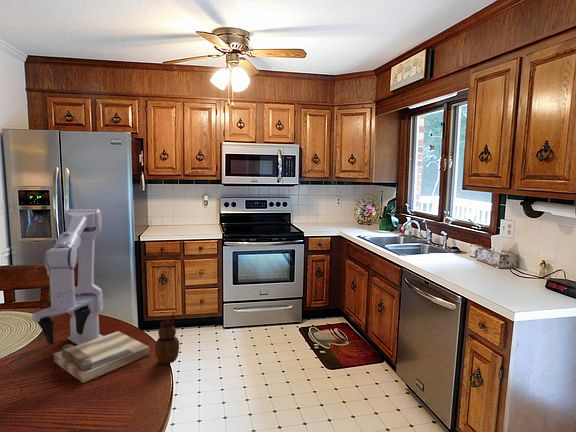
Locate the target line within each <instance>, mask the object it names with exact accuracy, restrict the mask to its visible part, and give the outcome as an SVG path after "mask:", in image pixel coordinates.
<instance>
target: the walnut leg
mask: <svg viewBox="0 0 576 432" xmlns="http://www.w3.org/2000/svg"><path fill="white" fill-rule="evenodd" d="M74 346H75V345H73V344H71V343H70V344H65V345H63V346H62V347H61V351H62V356H63V357H65V358H66V359H68V360H69V361H71V362H72V363H74V364H75V365H76V366H78V367H79V368H81V369H82V370H87V369H90V368H91V367H92V359H91V357H90V356H88V355H87V354H85V353H84V352H82V351H81V350H79V349H77V348H76V347H74Z"/></svg>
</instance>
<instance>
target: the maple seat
mask: <svg viewBox="0 0 576 432" xmlns="http://www.w3.org/2000/svg"><path fill="white" fill-rule="evenodd" d="M102 336H103V337H100V338H97V339H94V340H91V341H89V342H86V343H83V344H80V345H77V344H76V345H73V346H74V347H76V348H77V349H79V350H81V351H82V352H84V353H85V354H87V355H88V356H90V357H91V359H92V367H91V368H90V369H87V370H82V369H81V368H79V367H78V366H76V365H75V364H74V363H72V362H71V361H69V360H68V359H66V358H65V357H63V356H62V350H60V351H58V352H54V353H53V362H54V363H55V364H56V365H58V366H59V367H61V369H63V370H65V371H66V372H67V373H69V374H70V375H71V376H73V377H74V378H76V379H77V380H78V381H79V382H81V383H82V384H83V383H86V382H89V381H91V380H93V379H96V378H98V377H100V376H102V375H105V374H107V373H109V372H111V371H114V370H116V369H118V368H121V367H124V366H126V365H128V364H130V363H133V362H135V361H137V360H140V359H142V358H145V357H146V356H149V355H150V346H149V345H147V344H145V343H144V342H143V343H142V342H140V341H138V340H137V339H134V338H133V337H131V336H129V335H127V334H125V333H123V332H121V331H119V330H118V331H115V332H112V333H109V334H106V335H102Z"/></svg>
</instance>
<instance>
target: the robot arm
mask: <svg viewBox="0 0 576 432" xmlns="http://www.w3.org/2000/svg"><path fill="white" fill-rule="evenodd" d="M102 217H103V215H102V211H101V210H100V209H99V208H95V209H93V208H92V209H90V208H89V209H86V208H85V209H84V208H83V209H80V208H79V209H72V208H69V209H67V210H66V211H65V214H64V222H65V226H66V227H67V228H66V230H65V231H64V232H61V233H60V235H59V236H58V238H57V240H56V241H55V244H54V246H53V247H52V248H50V249H48V250H46V252H45V255H44V267H45V269H46V275H47V277H49V288H50V289H49V290H50V291H49V292H50V307H47V308H44V309H42V310H39V311H37V312H33V313H32V314H31V315H32V316H31V317H32V321H33V322H34V323H36V324H38V325H39V327H40V329H41V330H42V332H43V334H44V337H45V339H46V342H47V344H48V345H49V346H50V345H54V342H55V341H54V324H55V321H53V320H52V318H53V317H57V316H60V315H64V314H68V315H71V317H70V320H69V327H70V336H68V337H67V339H68V340H70V341H71V342H72V343H74V344H76V346H77V345H80V344H83V343H86V342H89V341H91V340H94V339H97V338H100V337H103V336H104V335H102V334H100V324H99V323H100V322H99V321H100V320H99V318H100V317H99V313H101V312H102V311H103V308H104V297H103V296H104V294H103V289H102V288H100V287H99V286H98V285H96V284H94V283H95V281H94V280H95V279H94V278H95V248H96V247H95V246H96V245H95V244H96V243H95V242H96V237H97V236H98V235H100V234H102V231H103V230H102V226H103V225H102V223H103V220H102V219H103V218H102ZM77 257H78V258H77ZM77 259H78V264H77ZM76 265H78V267H77V268H78V269H77V270H78V271H77V286H75V271H74V270H75V267H76Z"/></svg>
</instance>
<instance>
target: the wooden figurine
mask: <svg viewBox="0 0 576 432" xmlns="http://www.w3.org/2000/svg"><path fill="white" fill-rule="evenodd" d="M174 315H175V313H174V312H172V314H171V318H170V316H169V314H167V317H166V318H163V321H161V322H160V327H159V328H158V337H157V338H158V339H157V340H156V341H155V345H154V346H155V348H154V349H155V351H154V352H155V353H154V354H155V357H156V359H157V361H158V362H159V363H160V364H164V365H167V364H168V365H169V364H173V363H174V362H175V361H176V360H178V359H177V358H178V356H179V351H180V341H179V338H178V337H177V336H176V332H177V330H176V327H175V325H174V324H175V316H174Z"/></svg>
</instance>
